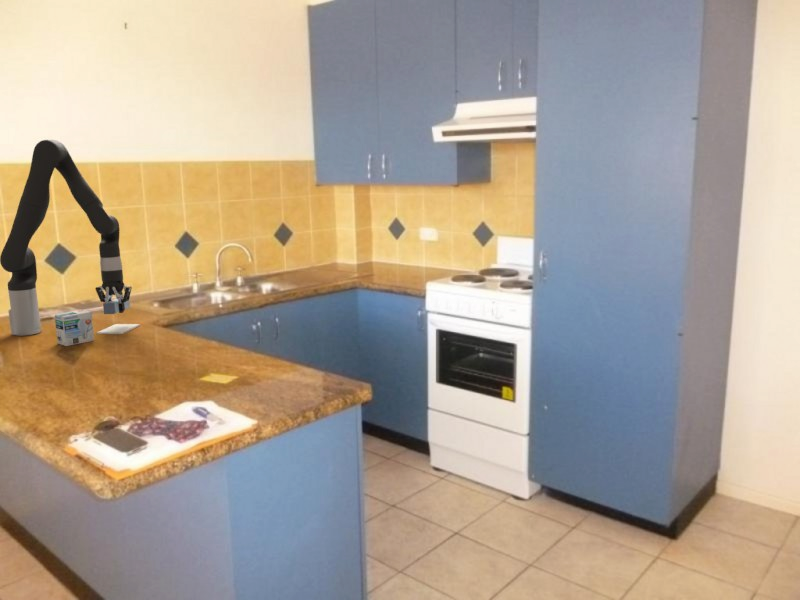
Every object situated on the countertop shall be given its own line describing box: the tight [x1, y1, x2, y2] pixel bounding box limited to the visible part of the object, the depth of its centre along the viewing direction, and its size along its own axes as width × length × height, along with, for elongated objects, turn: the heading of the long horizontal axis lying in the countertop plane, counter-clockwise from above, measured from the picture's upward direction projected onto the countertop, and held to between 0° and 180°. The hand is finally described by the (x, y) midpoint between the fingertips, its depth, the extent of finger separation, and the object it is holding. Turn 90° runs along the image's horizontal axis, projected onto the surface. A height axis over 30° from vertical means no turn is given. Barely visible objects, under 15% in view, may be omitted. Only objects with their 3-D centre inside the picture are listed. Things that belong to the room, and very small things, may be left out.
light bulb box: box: [54, 309, 95, 347], centre depth 241 cm, size 11×7×11 cm, turn 143°
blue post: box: [102, 298, 131, 315], centre depth 259 cm, size 4×4×12 cm
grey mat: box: [96, 323, 141, 335], centre depth 260 cm, size 10×14×1 cm
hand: (116, 312), depth 258 cm, fingers closed on blue post, 4 cm apart
